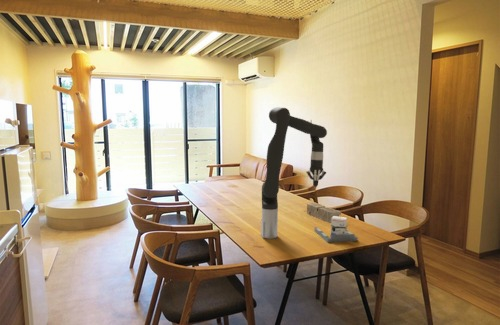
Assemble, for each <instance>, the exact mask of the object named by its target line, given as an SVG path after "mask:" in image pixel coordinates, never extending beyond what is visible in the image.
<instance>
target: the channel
mask: <svg viewBox="0 0 500 325" xmlns="http://www.w3.org/2000/svg"><path fill="white" fill-rule="evenodd" d="M313 230H314V232H315V233H317V235H319V237H321V238H322V239H323V240H324V241H325V242H326V243H346V242H358V240H359V239H358V238H359V237H358V236H357V235H355V233H353V232H351V231H349V230H348V229H347V230H346V234H341V235H331V234H330V237H329V236H328V235H327V234H326V233H325V232H324V231H323V230H322V229H320V228H319V227H317V226H316V227H314V229H313Z"/></svg>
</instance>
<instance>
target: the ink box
mask: <svg viewBox="0 0 500 325" xmlns="http://www.w3.org/2000/svg"><path fill="white" fill-rule="evenodd" d="M347 228H348V218H347V217H344V216H339V217H338V216H332V218H331V223H330V236H331V235H341V234H346V230H348V229H347Z"/></svg>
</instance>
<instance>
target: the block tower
mask: <svg viewBox="0 0 500 325" xmlns="http://www.w3.org/2000/svg"><path fill="white" fill-rule="evenodd" d="M306 214H307V215H310V216H312V217H315V218H317V219H318V220H321V221H324V222H326V223H329V224H331V218H332V216H338V217H340V216H341V215H342V211H341V210H337V209H334V208H331V207H326V206H325V205H322V204H319V203H317V202H315V201H313V202H308V203H306Z"/></svg>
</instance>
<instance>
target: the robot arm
mask: <svg viewBox="0 0 500 325" xmlns="http://www.w3.org/2000/svg"><path fill="white" fill-rule="evenodd" d="M268 118H269V120H270V121H271V123H273V124H276V125H275V131H274V134H273V136H272V138H271V140H270V142H269V144H268V146H267V151H266V152H267V153H266V176H265V181H264V182H263V183H262V185H261V219H260V220H261V222H260V236H261V238H262V239H269V240H270V239H271V240H273V239H276V238H278V227H279V226H278V221H279V220H278V219H279V218H278V217H279V216H278V215H279V214H278V213H279V211H278V209H279V208H278V207H279V203H278V193H279V191H280V173H281V169H282V164H283V159H284V152H285V151H284V150H285V143H286V138H287V132H288V127H290V128H293V129H294V130H297V131H299V132H301V133H304V134H307V135H309V137H310V143H311V153H310V167H309V169H308V170H306V171H305V173H306V174H307V176H308V177H309V179H310V180H312V185H313V187H318V185H319V181H320V180H322V179H323V178H324V176H325V175H326V174H327V171H325V170H324V168H323V166H324V143H323V142H322V141H321V140H320V139H324V138H325V137H326V136H327V134H328V130H327V129H326V127H325V126H322V125H320V124H315V123H313V122H310V121H308V120H305V119H303V118H300V117H296V116H292V115H291V113H290V110H289V109H288V108H286V107H272V108H271V110H270V111H269V113H268Z"/></svg>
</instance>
